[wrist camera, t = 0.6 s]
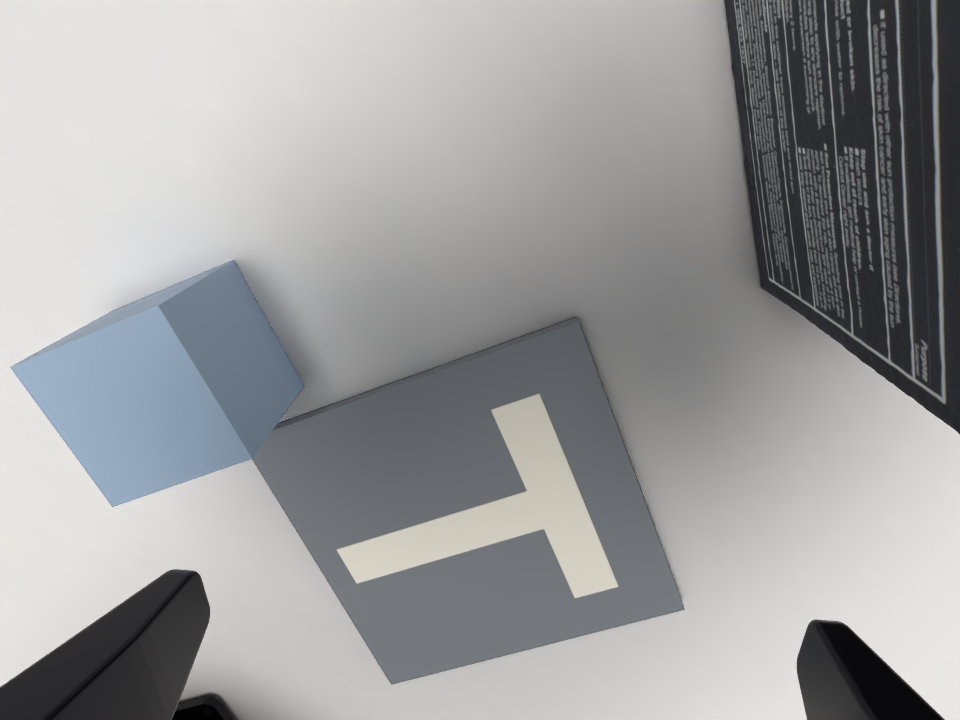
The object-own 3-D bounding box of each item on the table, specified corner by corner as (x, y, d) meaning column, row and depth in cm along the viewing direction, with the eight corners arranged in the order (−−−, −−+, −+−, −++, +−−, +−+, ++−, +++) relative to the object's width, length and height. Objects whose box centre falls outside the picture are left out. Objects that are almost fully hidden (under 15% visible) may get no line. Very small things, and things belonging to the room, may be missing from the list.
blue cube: (189, 427, 24) (112, 507, 20) (113, 310, 23) (9, 367, 18) (304, 385, 23) (252, 458, 19) (234, 259, 22) (158, 305, 17)
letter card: (393, 675, 29) (391, 685, 28) (246, 434, 24) (241, 442, 24) (681, 600, 26) (684, 610, 26) (577, 316, 22) (578, 322, 21)
